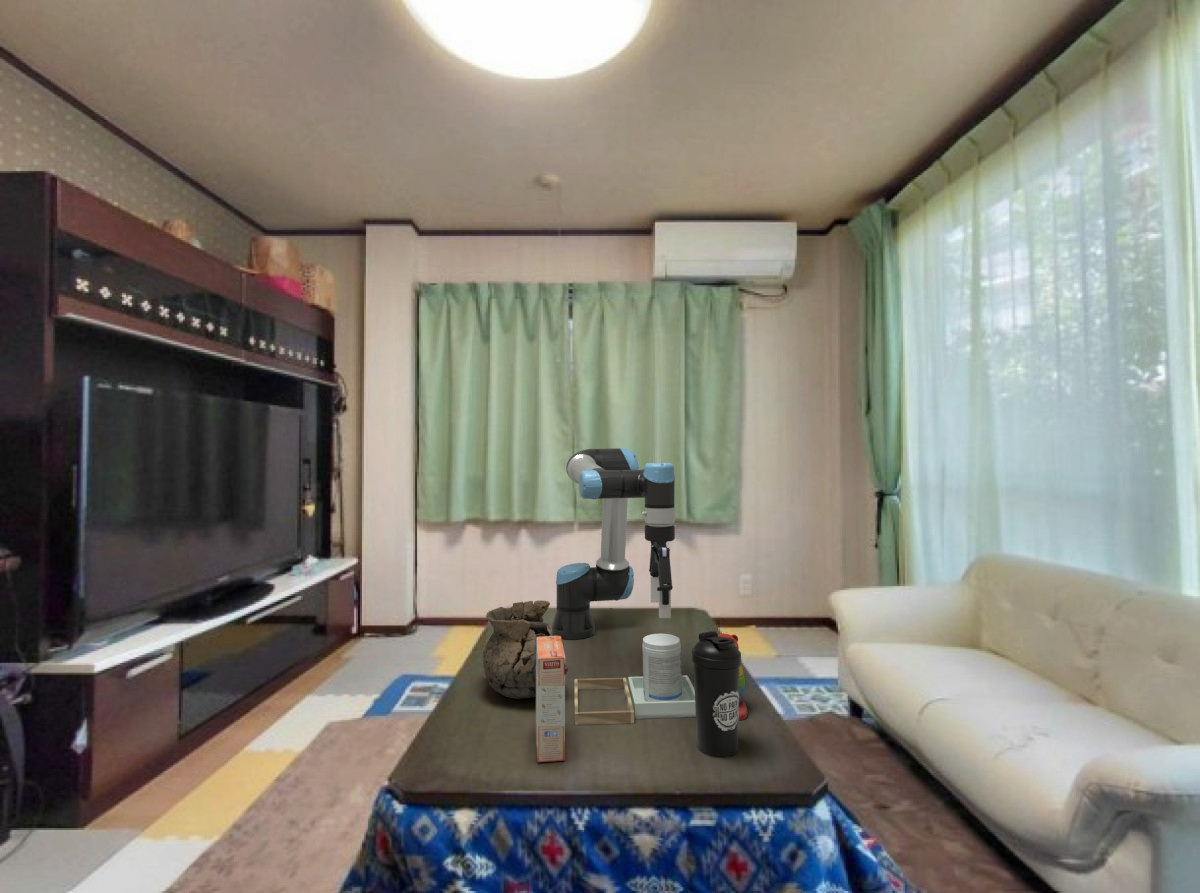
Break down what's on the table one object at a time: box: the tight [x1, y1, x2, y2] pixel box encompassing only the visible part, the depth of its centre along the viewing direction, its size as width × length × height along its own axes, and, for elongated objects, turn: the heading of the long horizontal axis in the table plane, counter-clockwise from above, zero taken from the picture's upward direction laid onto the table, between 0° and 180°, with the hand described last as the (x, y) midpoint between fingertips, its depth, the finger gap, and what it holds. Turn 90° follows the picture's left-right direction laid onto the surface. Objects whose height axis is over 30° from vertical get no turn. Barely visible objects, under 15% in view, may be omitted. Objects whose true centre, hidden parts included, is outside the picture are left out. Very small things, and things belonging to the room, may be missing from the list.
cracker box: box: [535, 635, 566, 763], centre depth 116 cm, size 14×6×21 cm, turn 7°
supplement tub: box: [641, 633, 683, 702], centre depth 136 cm, size 10×10×15 cm
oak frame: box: [573, 677, 635, 726], centre depth 134 cm, size 20×14×2 cm
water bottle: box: [691, 630, 742, 758], centre depth 115 cm, size 10×10×23 cm
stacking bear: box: [717, 632, 748, 721], centre depth 132 cm, size 11×10×18 cm
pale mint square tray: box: [627, 674, 696, 720], centre depth 135 cm, size 16×16×4 cm
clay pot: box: [482, 599, 569, 700], centre depth 142 cm, size 25×24×22 cm
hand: (660, 609), depth 136 cm, fingers open, 13 cm apart
